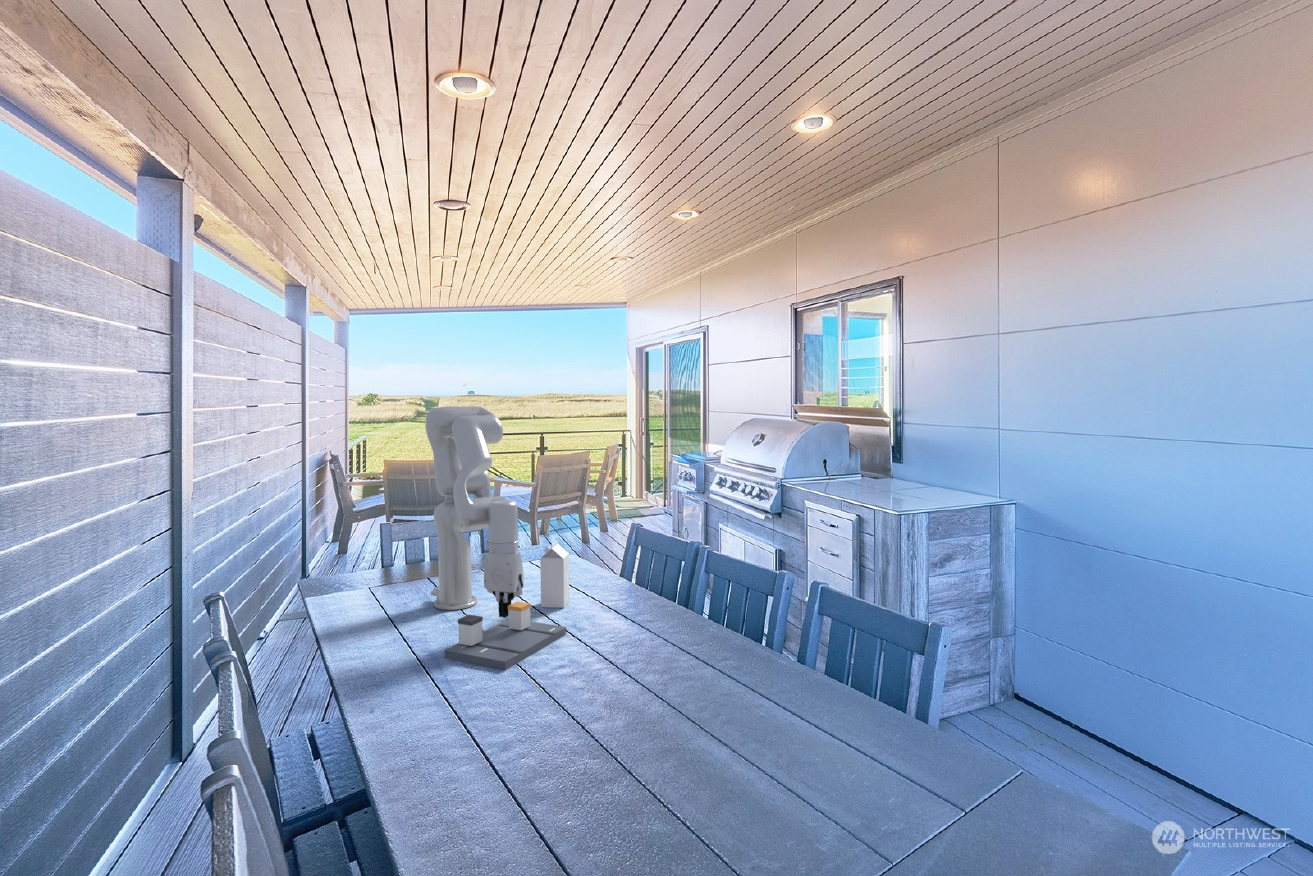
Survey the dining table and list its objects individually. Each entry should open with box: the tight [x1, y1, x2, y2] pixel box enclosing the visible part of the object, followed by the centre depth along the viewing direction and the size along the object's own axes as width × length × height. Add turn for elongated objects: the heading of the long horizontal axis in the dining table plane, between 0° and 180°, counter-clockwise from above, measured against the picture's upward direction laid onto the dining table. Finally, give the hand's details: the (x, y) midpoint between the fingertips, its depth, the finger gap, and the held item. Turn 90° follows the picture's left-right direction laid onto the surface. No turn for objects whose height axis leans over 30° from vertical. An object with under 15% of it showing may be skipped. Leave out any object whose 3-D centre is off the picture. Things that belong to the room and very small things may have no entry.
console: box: [443, 618, 567, 671], centre depth 172 cm, size 18×26×2 cm
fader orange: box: [507, 601, 531, 630], centre depth 179 cm, size 4×4×6 cm
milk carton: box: [539, 539, 570, 609], centre depth 205 cm, size 7×7×19 cm
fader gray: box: [457, 614, 484, 646], centre depth 168 cm, size 4×4×6 cm
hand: (505, 615), depth 180 cm, fingers closed
